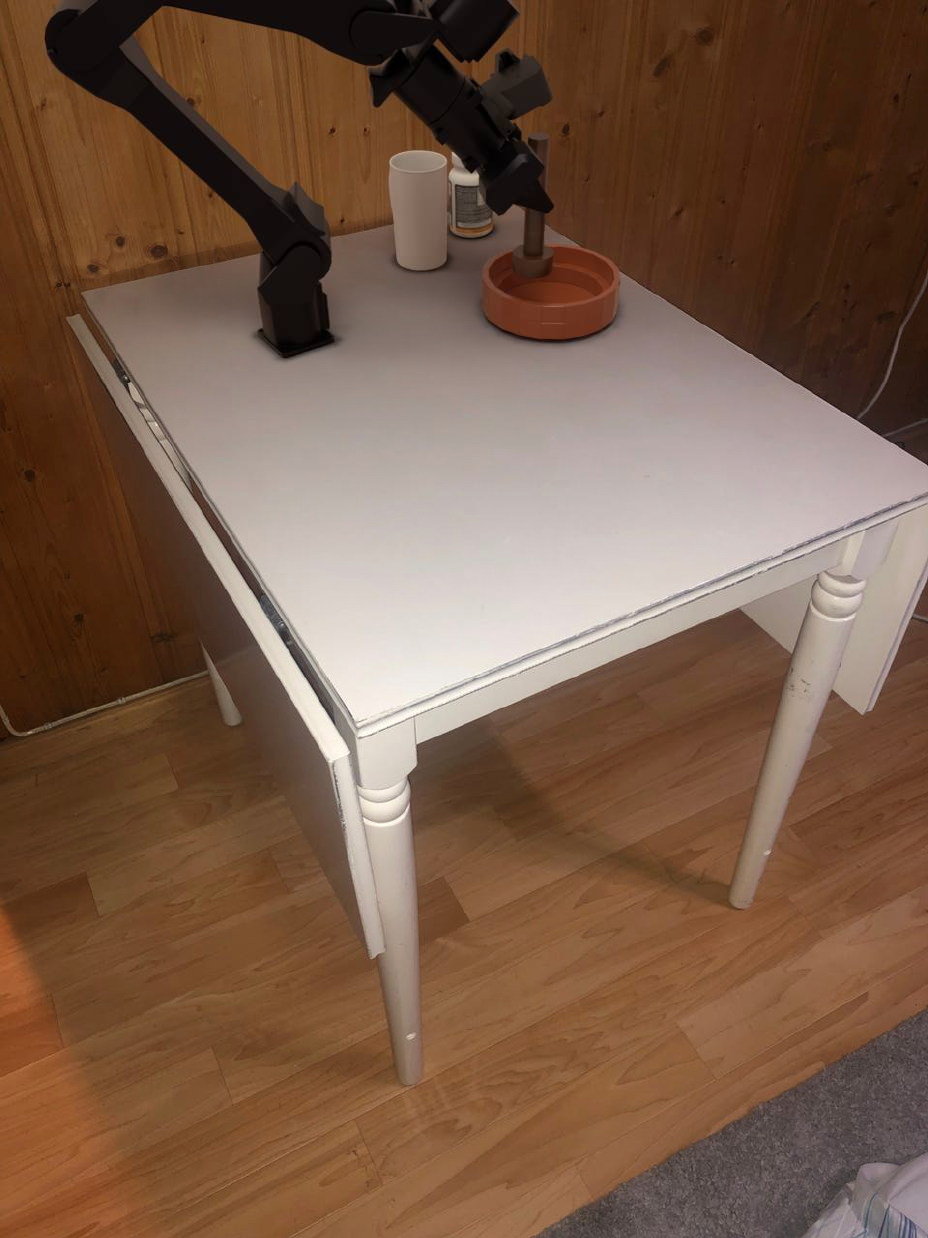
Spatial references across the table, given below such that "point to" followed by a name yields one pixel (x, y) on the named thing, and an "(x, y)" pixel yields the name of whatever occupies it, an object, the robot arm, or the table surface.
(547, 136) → the stick
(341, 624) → the table surface
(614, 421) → the table surface
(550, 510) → the table surface
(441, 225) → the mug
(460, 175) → the pill bottle
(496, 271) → the bowl
